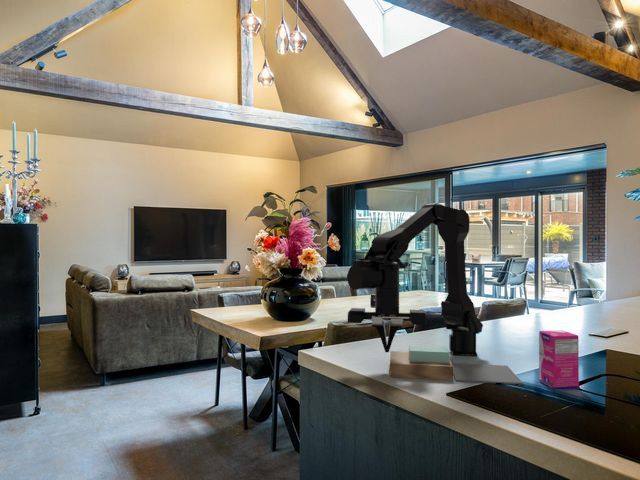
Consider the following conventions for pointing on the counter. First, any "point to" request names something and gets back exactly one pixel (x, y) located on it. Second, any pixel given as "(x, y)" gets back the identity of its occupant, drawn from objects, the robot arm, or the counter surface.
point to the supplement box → (559, 359)
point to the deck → (418, 368)
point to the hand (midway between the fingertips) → (387, 351)
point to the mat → (484, 374)
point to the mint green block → (428, 353)
